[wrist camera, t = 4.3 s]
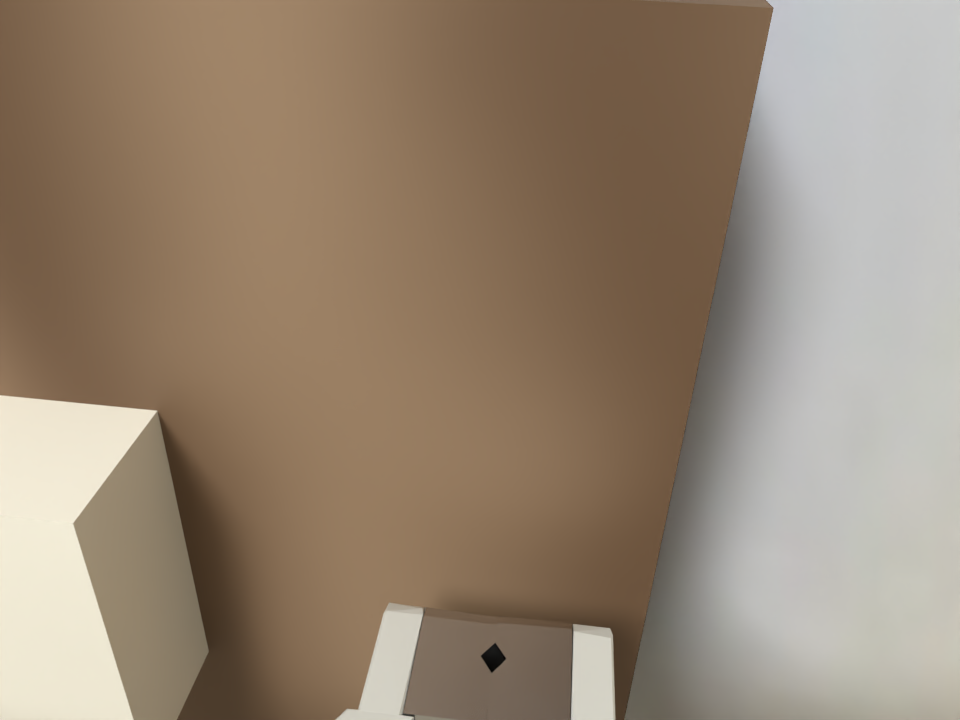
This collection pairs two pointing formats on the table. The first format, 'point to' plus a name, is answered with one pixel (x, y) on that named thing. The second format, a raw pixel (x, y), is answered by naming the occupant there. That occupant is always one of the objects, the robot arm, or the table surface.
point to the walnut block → (378, 296)
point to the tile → (92, 567)
